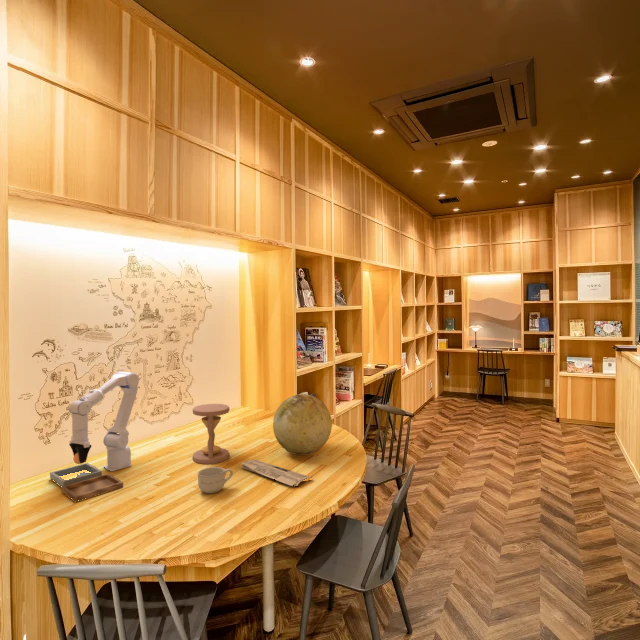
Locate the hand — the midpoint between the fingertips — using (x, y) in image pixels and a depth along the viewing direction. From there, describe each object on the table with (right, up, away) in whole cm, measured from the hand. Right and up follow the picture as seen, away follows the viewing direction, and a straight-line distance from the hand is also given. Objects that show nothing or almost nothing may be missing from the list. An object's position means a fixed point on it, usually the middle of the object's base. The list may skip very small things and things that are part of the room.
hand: (80, 460), depth 176 cm
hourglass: (+48, -9, +30) cm, 57 cm away
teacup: (+59, -10, -7) cm, 60 cm away
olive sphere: (+93, -9, +37) cm, 100 cm away
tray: (+9, -9, -8) cm, 15 cm away
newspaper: (+81, -10, +9) cm, 82 cm away
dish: (-4, -9, +3) cm, 10 cm away
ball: (0, +1, 0) cm, 1 cm away
